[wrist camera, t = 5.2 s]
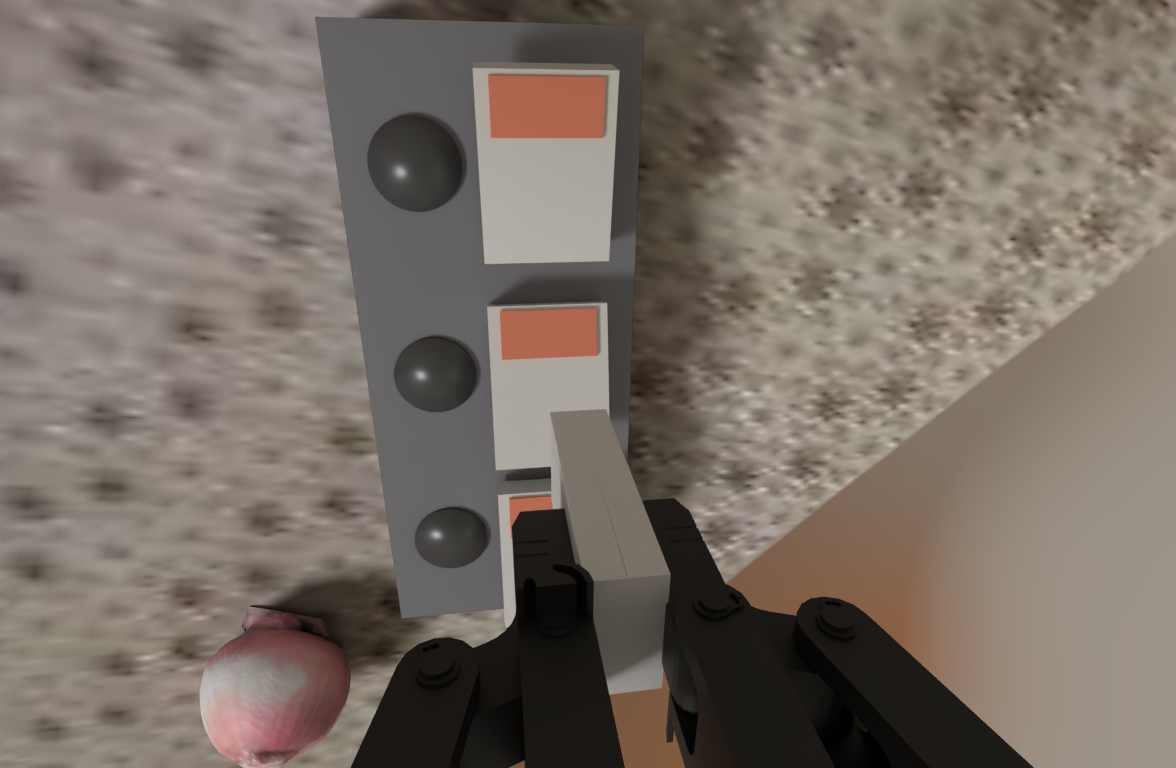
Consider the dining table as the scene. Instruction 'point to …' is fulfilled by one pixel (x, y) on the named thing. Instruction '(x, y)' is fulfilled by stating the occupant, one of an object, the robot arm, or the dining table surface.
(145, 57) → the dining table surface
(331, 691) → the onion
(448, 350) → the switch panel
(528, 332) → the rocker
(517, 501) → the rocker
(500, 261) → the rocker
